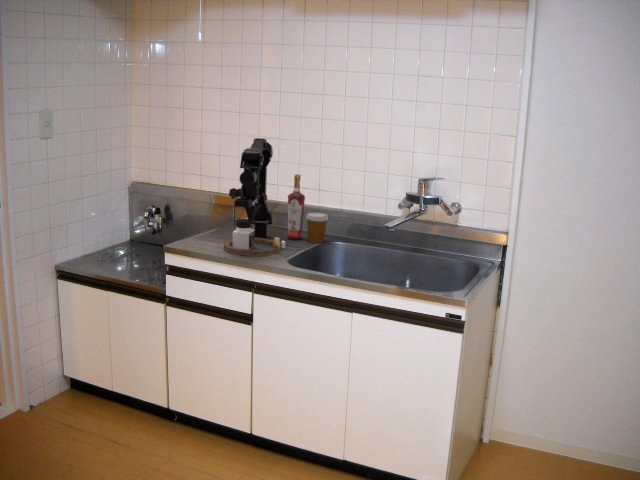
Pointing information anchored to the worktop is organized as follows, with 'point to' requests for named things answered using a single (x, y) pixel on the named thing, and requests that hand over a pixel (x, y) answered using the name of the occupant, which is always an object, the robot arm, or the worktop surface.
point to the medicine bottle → (243, 235)
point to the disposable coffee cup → (316, 227)
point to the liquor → (295, 211)
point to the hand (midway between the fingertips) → (250, 221)
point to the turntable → (255, 253)
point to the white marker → (283, 244)
